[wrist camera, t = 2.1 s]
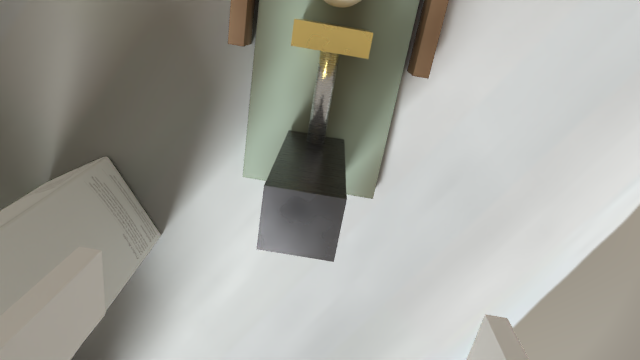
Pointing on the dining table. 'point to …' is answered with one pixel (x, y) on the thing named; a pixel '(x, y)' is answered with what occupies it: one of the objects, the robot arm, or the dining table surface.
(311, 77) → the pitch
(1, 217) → the skincare box
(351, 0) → the ball
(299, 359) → the dining table surface
